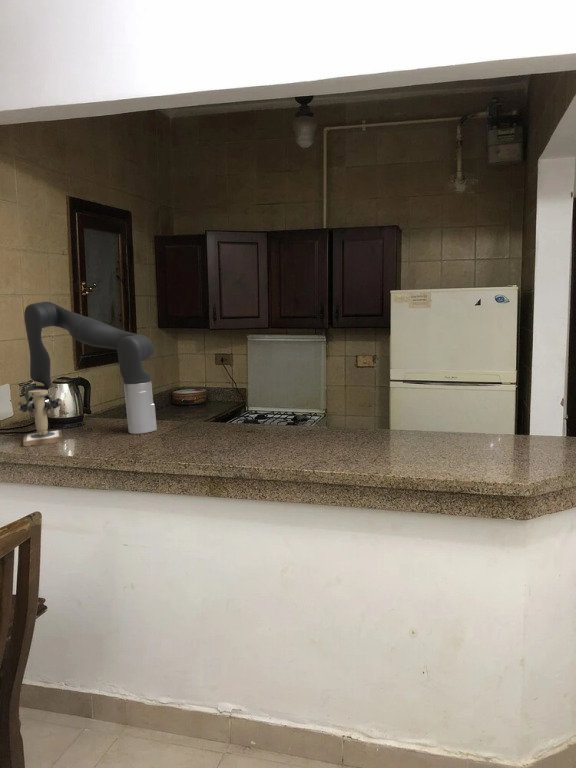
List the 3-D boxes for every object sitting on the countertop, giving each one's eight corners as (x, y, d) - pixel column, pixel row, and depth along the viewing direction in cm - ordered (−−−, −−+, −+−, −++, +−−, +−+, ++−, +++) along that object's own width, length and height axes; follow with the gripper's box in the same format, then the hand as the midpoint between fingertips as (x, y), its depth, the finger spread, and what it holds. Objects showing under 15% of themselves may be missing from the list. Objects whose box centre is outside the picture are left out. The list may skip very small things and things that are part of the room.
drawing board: (61, 434, 209) (61, 429, 208) (62, 441, 198) (62, 436, 197) (24, 439, 204) (24, 433, 204) (23, 446, 193) (22, 441, 193)
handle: (44, 436, 197) (39, 392, 195) (30, 436, 200) (25, 391, 198) (55, 433, 202) (50, 389, 200) (41, 432, 204) (36, 389, 202)
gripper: (16, 392, 209) (14, 400, 193) (59, 388, 214) (61, 395, 199) (19, 413, 210) (17, 422, 195) (62, 408, 215) (63, 416, 200)
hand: (39, 408), depth 197 cm, fingers open, 4 cm apart
